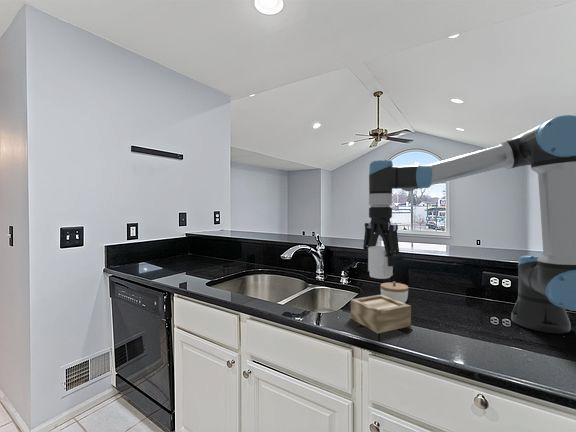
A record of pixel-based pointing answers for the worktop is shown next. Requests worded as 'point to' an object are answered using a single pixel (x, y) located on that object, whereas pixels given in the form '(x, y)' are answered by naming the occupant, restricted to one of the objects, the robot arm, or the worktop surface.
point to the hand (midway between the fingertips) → (379, 273)
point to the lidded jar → (395, 291)
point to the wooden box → (380, 313)
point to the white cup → (377, 262)
